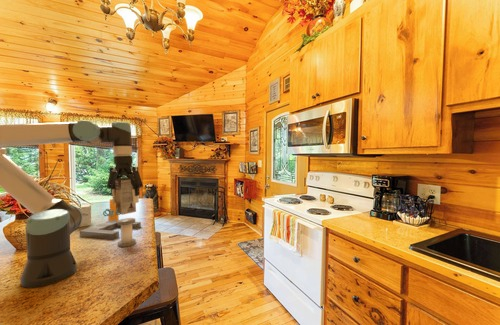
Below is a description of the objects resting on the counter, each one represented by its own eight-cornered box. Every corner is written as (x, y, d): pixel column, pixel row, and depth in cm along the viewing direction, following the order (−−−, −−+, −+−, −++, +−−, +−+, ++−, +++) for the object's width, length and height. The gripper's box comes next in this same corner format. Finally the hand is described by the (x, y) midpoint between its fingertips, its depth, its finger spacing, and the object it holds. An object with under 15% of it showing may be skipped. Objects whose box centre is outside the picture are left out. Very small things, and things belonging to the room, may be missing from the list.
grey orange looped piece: (106, 225, 139) (105, 202, 139) (100, 222, 146) (99, 200, 145) (126, 220, 149) (125, 199, 149) (119, 217, 155) (119, 197, 155)
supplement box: (75, 227, 134) (74, 207, 134) (77, 224, 141) (77, 205, 140) (89, 225, 138) (89, 206, 137) (91, 222, 144) (91, 204, 144)
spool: (127, 247, 104) (127, 223, 104) (113, 246, 106) (113, 222, 105) (139, 241, 112) (139, 218, 111) (126, 240, 113) (125, 217, 113)
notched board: (112, 239, 115) (112, 233, 115) (79, 236, 119) (79, 230, 119) (140, 226, 135) (140, 222, 135) (111, 224, 140) (111, 220, 140)
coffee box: (115, 211, 102) (113, 178, 101) (130, 208, 107) (128, 176, 106) (121, 215, 96) (119, 179, 95) (137, 211, 100) (135, 177, 100)
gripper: (150, 154, 101) (152, 201, 102) (109, 156, 106) (112, 200, 107) (138, 154, 94) (141, 204, 95) (95, 156, 99) (98, 204, 100)
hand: (125, 202), depth 101 cm, fingers closed on coffee box, 10 cm apart
